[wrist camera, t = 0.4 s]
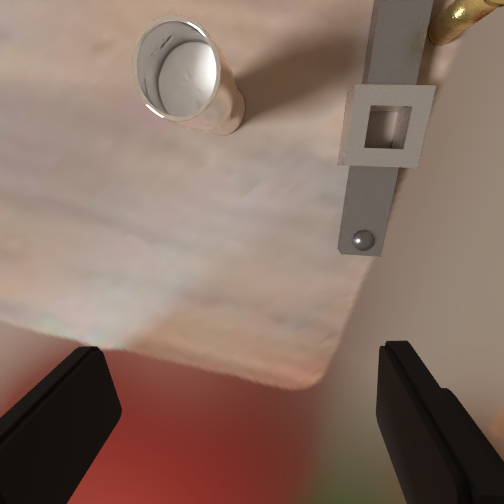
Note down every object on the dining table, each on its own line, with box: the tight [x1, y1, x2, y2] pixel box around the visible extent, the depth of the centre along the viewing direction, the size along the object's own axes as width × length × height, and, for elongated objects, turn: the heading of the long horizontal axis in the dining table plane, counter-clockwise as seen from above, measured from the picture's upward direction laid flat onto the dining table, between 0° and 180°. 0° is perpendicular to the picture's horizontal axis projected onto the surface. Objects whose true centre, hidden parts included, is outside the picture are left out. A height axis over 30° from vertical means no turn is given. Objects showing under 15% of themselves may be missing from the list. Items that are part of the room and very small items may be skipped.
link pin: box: [429, 0, 504, 45], centre depth 24 cm, size 3×3×9 cm
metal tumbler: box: [132, 15, 245, 135], centre depth 26 cm, size 7×7×15 cm
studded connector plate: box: [338, 0, 437, 257], centre depth 31 cm, size 30×8×4 cm, turn 178°
